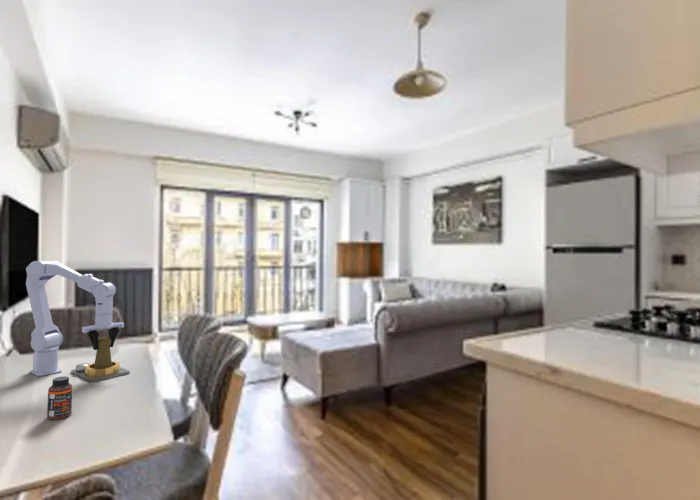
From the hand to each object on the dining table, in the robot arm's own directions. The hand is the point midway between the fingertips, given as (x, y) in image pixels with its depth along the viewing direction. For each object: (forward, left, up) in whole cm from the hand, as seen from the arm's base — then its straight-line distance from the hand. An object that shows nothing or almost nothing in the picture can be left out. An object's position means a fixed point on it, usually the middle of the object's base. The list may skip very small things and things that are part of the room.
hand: (103, 348), depth 159 cm
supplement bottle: (+32, -25, -10) cm, 42 cm away
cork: (0, 0, -7) cm, 7 cm away
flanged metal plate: (-2, 0, -10) cm, 10 cm away
